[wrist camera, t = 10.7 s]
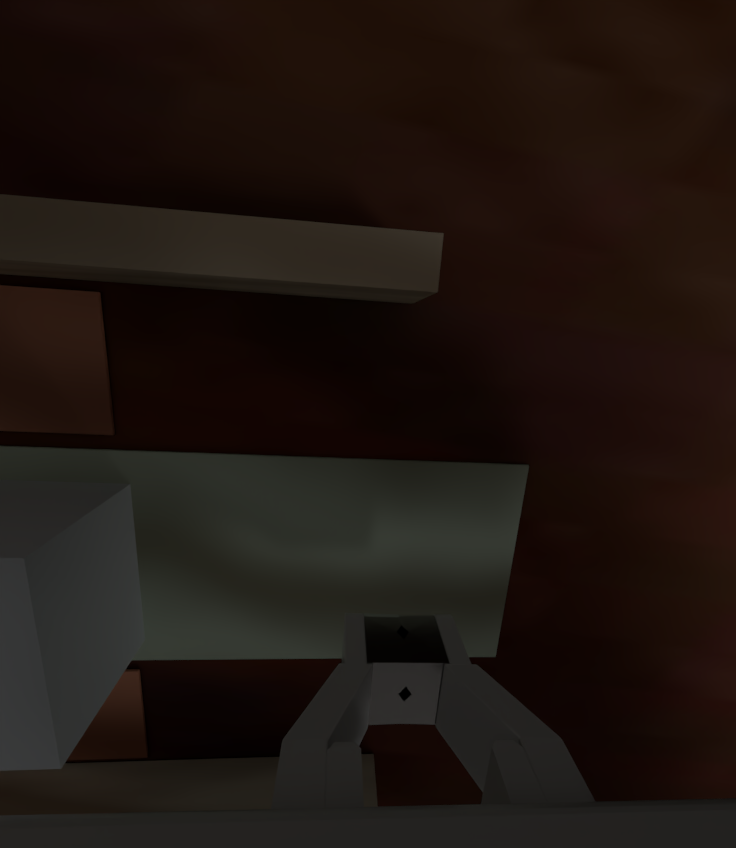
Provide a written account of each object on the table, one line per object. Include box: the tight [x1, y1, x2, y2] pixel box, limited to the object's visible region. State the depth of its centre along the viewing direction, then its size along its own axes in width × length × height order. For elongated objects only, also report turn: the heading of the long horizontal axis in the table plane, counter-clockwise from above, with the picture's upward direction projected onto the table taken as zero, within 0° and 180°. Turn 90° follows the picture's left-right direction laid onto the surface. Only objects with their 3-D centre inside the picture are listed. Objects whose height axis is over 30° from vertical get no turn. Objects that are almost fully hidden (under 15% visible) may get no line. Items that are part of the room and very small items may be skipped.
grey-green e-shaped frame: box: [0, 194, 529, 815], centre depth 11 cm, size 20×24×3 cm
